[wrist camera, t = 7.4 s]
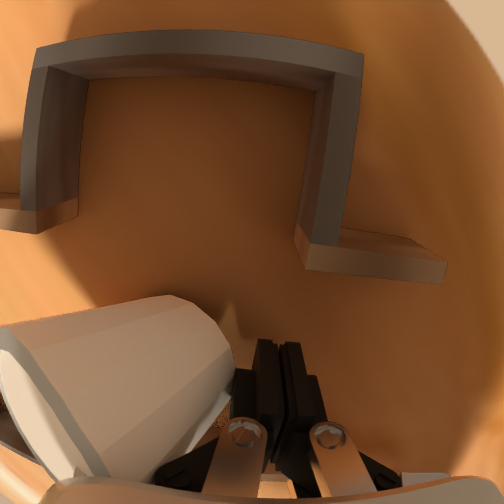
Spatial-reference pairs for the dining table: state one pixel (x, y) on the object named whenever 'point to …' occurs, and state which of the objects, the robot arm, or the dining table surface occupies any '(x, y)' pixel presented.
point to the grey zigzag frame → (209, 66)
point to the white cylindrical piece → (115, 385)
